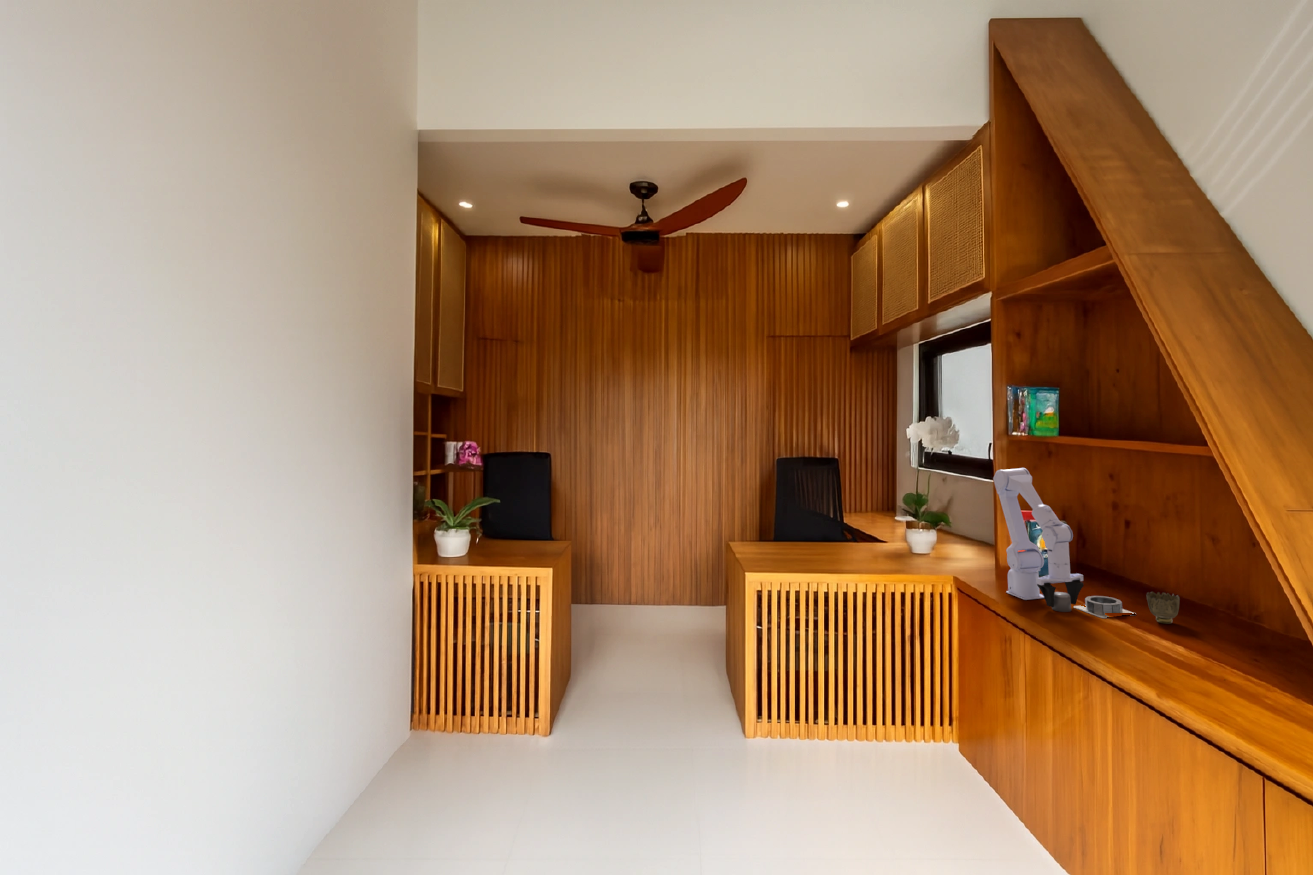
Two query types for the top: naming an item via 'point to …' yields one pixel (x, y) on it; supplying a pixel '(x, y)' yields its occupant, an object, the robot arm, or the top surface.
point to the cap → (1062, 602)
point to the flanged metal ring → (1102, 606)
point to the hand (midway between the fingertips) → (1061, 604)
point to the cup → (1163, 606)
